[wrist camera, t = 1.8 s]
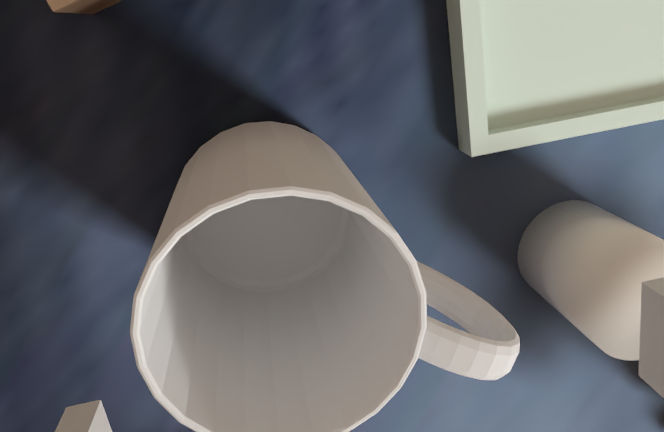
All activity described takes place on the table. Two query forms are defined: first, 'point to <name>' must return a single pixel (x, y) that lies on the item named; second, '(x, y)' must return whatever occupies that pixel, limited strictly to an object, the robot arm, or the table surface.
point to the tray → (553, 69)
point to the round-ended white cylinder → (592, 271)
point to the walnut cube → (80, 5)
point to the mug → (293, 295)
